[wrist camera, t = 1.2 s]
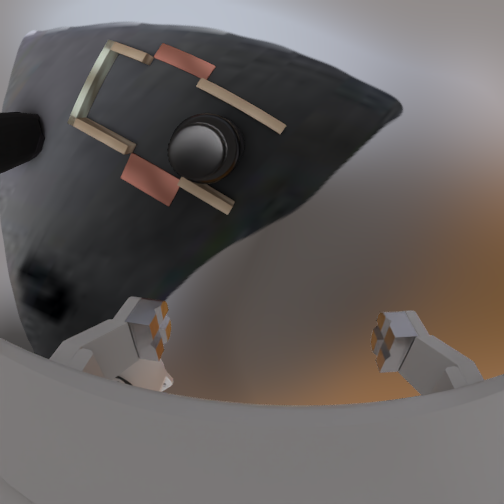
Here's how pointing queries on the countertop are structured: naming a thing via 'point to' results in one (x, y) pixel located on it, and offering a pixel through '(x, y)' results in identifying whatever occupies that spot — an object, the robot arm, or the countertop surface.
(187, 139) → the supplement bottle
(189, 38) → the countertop surface
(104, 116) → the countertop surface
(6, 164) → the portable speaker
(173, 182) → the channel
